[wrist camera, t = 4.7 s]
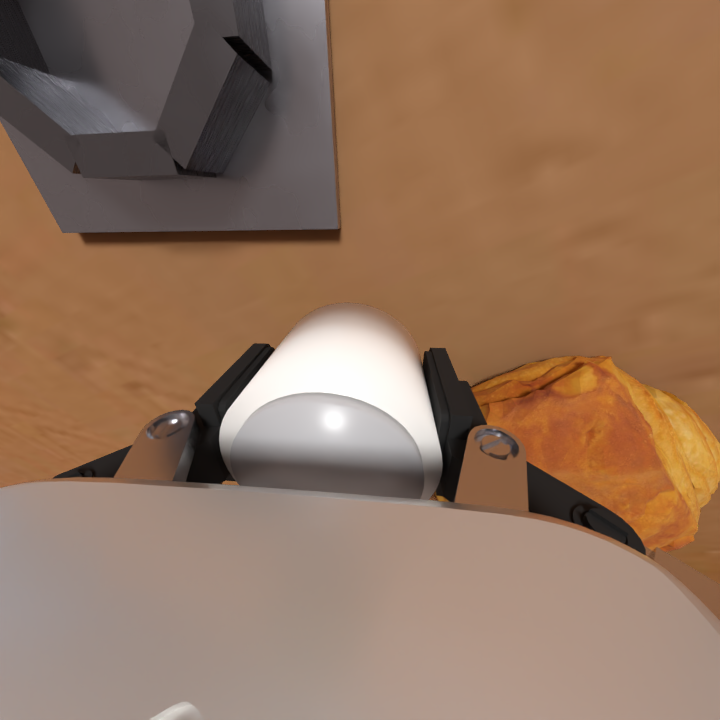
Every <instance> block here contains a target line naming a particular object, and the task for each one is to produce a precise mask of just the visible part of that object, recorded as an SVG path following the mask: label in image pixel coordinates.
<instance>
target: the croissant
mask: <svg viewBox="0 0 720 720" xmlns="http://www.w3.org/2000/svg"><path fill="white" fill-rule="evenodd" d="M471 390H472V392H473V394H474V396H475V399H476V401H477V403H478V405H479V407H480V409H481V412H482V414H483V416H484V418H485V420H486V422H487V425H492V426H498V427H500V428H503V429H506V430H507V431H509V432H511V433H512V434H514V435H515V436H516V437H517V438H519V439H520V441H521V442H522V443H523V445H524V447H525V450H526V461H527V462H529V463H531V464H533V465H534V466H536V467H538V468H539V469H541V470H543V471H544V472H546V473H548V474H550V475H551V476H553V477H555V478H556V479H558V480H560V481H561V482H563V483H565V484H567V485H568V486H570V487H572V488H573V489H575V490H577V491H578V492H580V493H582V494H584V495H585V496H587V497H589V498H590V499H592V500H594V501H595V502H597V503H599V504H601V505H602V506H604V507H606V508H607V509H609V510H611V511H612V512H614V513H615V514H616V515H618V516H619V517H621V518H622V519H623V520H624V521H625V522H626V523H628V524H629V525H630V526H631V527H632V528H633V529H634V531H635V532H636V533H637V535H638V536H639V537H640V539H641V540H642V543H643V545H644V546H646V547H647V548H649V549H651V550H652V551H653V550H654V549H655V548H656V547H658V548H660V549H661V550H663V551H665V552H668V551H672V550H676V549H680V548H682V547H684V546H685V545H687V544H689V543H691V542H692V541H694V537H693V535H694V534H695V533H696V532H697V531H698V528H697V527H699V526H698V524H697V523H698V519H699V516H700V512H701V510H700V508H701V507H703V506H704V505H705V504H707V503H708V502H709V500H710V499H711V497H710V494H713V493H714V492H715V490H716V489H718V483H719V482H720V443H719V442H718V441H717V439H716V438H715V436H714V435H713V434H712V432H711V431H710V429H709V428H708V426H707V425H706V424H705V423H704V422H703V421H702V420H701V419H700V418H699V416H698V415H697V414H696V413H695V412H694V411H693V409H691V408H689V407H688V406H687V403H685V402H683V401H681V400H679V399H678V398H677V397H676V396H675V395H673V394H671V393H668V392H666V391H661V390H658V389H655V388H653V387H651V386H648V385H645V384H641V383H639V382H638V381H637V380H636V379H635V378H633V377H631V376H630V375H628V374H627V373H625V372H624V371H623V370H621V369H619V368H618V367H616V366H614V364H613V362H612V360H611V357H605V356H597V357H590V358H586V357H582V356H565V357H558V358H551V359H548V360H545V361H540V362H534V363H528V364H526V365H524V366H522V367H520V368H517V369H515V370H513V371H511V372H508V373H504V374H501V375H499V376H497V377H495V378H493V379H491V380H488V381H486V382H484V383H481V384H479V385H477V386H474V387H472V388H471ZM435 494H436V491H435ZM436 498H437V501H443V502H449V501H448V500H447V499H446V498H444V497H443V496H436Z"/></svg>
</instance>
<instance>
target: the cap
mask: <svg viewBox="0 0 720 720" xmlns="http://www.w3.org/2000/svg"><path fill="white" fill-rule="evenodd" d="M219 444H220V451H221V454H222V457H223V461H224V463H225V465H226V467H227V469H228V471H229V472H230V474H231V475H232V477H233V478H234V479H235V481H236V482H237V483H238V484H239V485H240V486H251V487H265V488H279V489H293V490H306V491H319V492H333V493H346V494H358V495H371V496H383V497H396V498H409V499H421V500H429V499H430V497H431V496H432V495H433V493H434V492H435V490H436V488H437V486H438V484H439V482H440V478H441V475H442V466H443V462H442V453H441V448H440V444H439V439H438V435H437V430H436V426H435V421H434V416H433V412H432V407H431V403H430V398H429V394H428V389H427V385H426V380H425V376H424V371H423V366H422V362H421V357H420V354H419V350H418V347H417V345H416V343H415V341H414V339H413V337H412V336H411V334H410V333H409V331H408V330H407V329H406V328H405V327H404V326H403V325H402V324H401V323H400V322H399V321H398V320H396V319H395V318H394V317H392V316H391V315H389V314H388V313H386V312H384V311H382V310H380V309H377V308H374V307H371V306H368V305H363V304H359V303H336V304H331V305H327V306H324V307H321V308H318V309H316V310H314V311H312V312H310V313H309V314H307V315H306V316H304V317H303V318H302V319H301V320H300V321H299V322H298V323H296V325H295V326H294V327H293V328H292V330H291V331H290V332H289V333H288V335H287V336H286V337H285V338H284V340H283V341H282V342H281V343H280V345H279V346H278V347H277V349H276V350H275V351H274V352H273V354H272V355H271V356H270V357H269V359H268V360H267V361H266V362H265V364H264V365H263V366H262V367H261V369H260V370H259V371H258V372H257V374H256V375H255V376H254V377H253V379H252V380H251V381H250V382H249V384H248V385H247V386H246V387H245V389H244V390H243V391H242V393H241V394H240V395H239V396H238V398H237V399H236V400H235V401H234V403H233V404H232V405H231V406H230V408H229V409H228V410H227V412H226V414H225V416H224V418H223V420H222V424H221V427H220V434H219Z"/></svg>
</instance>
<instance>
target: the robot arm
mask: <svg viewBox="0 0 720 720" xmlns="http://www.w3.org/2000/svg"><path fill="white" fill-rule="evenodd" d="M274 351H275V349H274V348H273V347H271V346H270V345H269V344H253V345H252V346H251V347H250V348H249V349H248V350H247V351H246V352H245V353H244V354H243V355H242V356H241V357H240V358H239V359H238V360H237V361H236V362H235V363H234V364H233V365H232V366H231V367H230V368H229V369H228V370H227V371H226V372H225V373H224V374H223V375H222V376H221V377H220V378H219V379H218V380H217V381H216V382H215V383H214V384H213V385H212V386H211V387H210V388H209V389H208V390H207V391H206V392H205V393H204V395H203V396H202V397H201V398H200V399H199V400H198V401H197V402H196V403H195V406H196V409H195V410H194V411H193V412H190V411H187V410H177V411H172V412H168V413H165V414H163V415H160V416H158V417H157V418H155V419H153V420H151V421H150V422H149V423H148V424H146V425H145V426H144V428H143V429H142V430H141V432H140V433H139V435H138V437H137V438H136V440H135V442H134V444H133V445H131V446H128V447H126V448H123V449H121V450H118V451H116V452H114V453H111V454H109V455H106V456H104V457H101V458H99V459H96V460H94V461H91V462H89V463H86V464H84V465H81V466H79V467H77V468H74V469H72V470H69V471H67V472H64V473H61V474H59V475H57V476H55V477H54V478H52V479H45V480H38V481H31V482H24V483H19V484H15V485H10V486H6V487H2V488H0V720H720V584H718V583H717V582H715V581H713V580H712V579H710V578H708V577H706V576H705V575H703V574H701V573H700V572H698V571H696V570H695V569H693V568H691V567H690V566H688V565H686V564H685V563H683V562H681V561H680V560H678V559H676V558H675V557H673V556H671V555H670V554H668V553H666V552H665V551H663V550H661V549H660V548H658V547H656V548H655V549H654V550H653V551H652V550H651V549H649V548H647V547H646V546H644V545H643V543H642V540H641V539H640V537H639V536H638V535H637V533H636V532H635V531H634V529H633V528H632V527H631V526H630V525H629V524H628V523H626V522H625V521H624V520H623V519H622V518H621V517H619V516H618V515H616V514H615V513H614V512H612V511H611V510H609V509H607V508H606V507H604V506H602V505H601V504H599V503H597V502H595V501H594V500H592V499H590V498H589V497H587V496H585V495H584V494H582V493H580V492H578V491H577V490H575V489H573V488H572V487H570V486H568V485H567V484H565V483H563V482H561V481H560V480H558V479H556V478H555V477H553V476H551V475H550V474H548V473H546V472H544V471H543V470H541V469H539V468H538V467H536V466H534V465H533V464H531V463H529V462H527V461H526V450H525V447H524V445H523V443H522V442H521V441H520V439H519V438H517V437H516V436H515V435H514V434H512V433H511V432H509V431H507V430H506V429H503V428H500V427H498V426H492V425H487V422H486V420H485V418H484V416H483V414H482V412H481V409H480V407H479V405H478V403H477V401H476V399H475V396H474V394H473V392H472V390H471V388H470V386H469V384H468V382H467V381H458V378H457V376H456V373H455V371H454V368H453V366H452V364H451V361H450V359H449V356H448V354H447V351H446V349H445V348H430V350H429V351H425V352H424V359H423V371H424V376H425V380H426V385H427V389H428V394H429V398H430V403H431V407H432V412H433V416H434V421H435V426H436V430H437V435H438V439H439V444H440V448H441V453H442V462H443V466H442V475H441V478H440V482H439V484H438V486H437V488H436V490H435V491H436V496H443V497H444V498H446V499H447V500H448V501H449V502H443V501H433V500H421V499H409V498H396V497H383V496H371V495H358V494H346V493H333V492H319V491H306V490H293V489H279V488H265V487H251V486H238V485H223V484H222V482H223V481H225V480H226V481H235V479H234V478H233V477H232V475H231V474H230V472H229V471H228V469H227V467H226V465H225V463H224V461H223V457H222V454H221V451H220V444H219V434H220V427H221V424H222V420H223V418H224V416H225V414H226V412H227V410H228V409H229V408H230V406H231V405H232V404H233V403H234V401H235V400H236V399H237V398H238V396H239V395H240V394H241V393H242V391H243V390H244V389H245V387H246V386H247V385H248V384H249V382H250V381H251V380H252V379H253V377H254V376H255V375H256V374H257V372H258V371H259V370H260V369H261V367H262V366H263V365H264V364H265V362H266V361H267V360H268V359H269V357H270V356H271V355H272V354H273V352H274Z"/></svg>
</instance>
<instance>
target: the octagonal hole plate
mask: <svg viewBox="0 0 720 720" xmlns="http://www.w3.org/2000/svg"><path fill="white" fill-rule="evenodd" d="M0 121H1V123H2V125H3V127H4V128H5V130H6V132H7V134H8V136H9V137H10V139H11V141H12V143H13V145H14V146H15V148H16V150H17V152H18V154H19V155H20V157H21V159H22V161H23V162H24V164H25V166H26V168H27V170H28V171H29V173H30V175H31V177H32V179H33V180H34V182H35V184H36V186H37V188H38V189H39V191H40V193H41V195H42V197H43V198H44V200H45V202H46V204H47V206H48V207H49V209H50V211H51V213H52V215H53V216H54V218H55V220H56V222H57V223H58V225H59V227H60V229H61V231H62V232H63V233H83V232H158V231H232V230H306V229H339V228H340V227H341V220H340V202H339V183H338V165H337V146H336V128H335V109H334V91H333V72H332V54H331V35H330V17H329V0H0Z"/></svg>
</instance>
